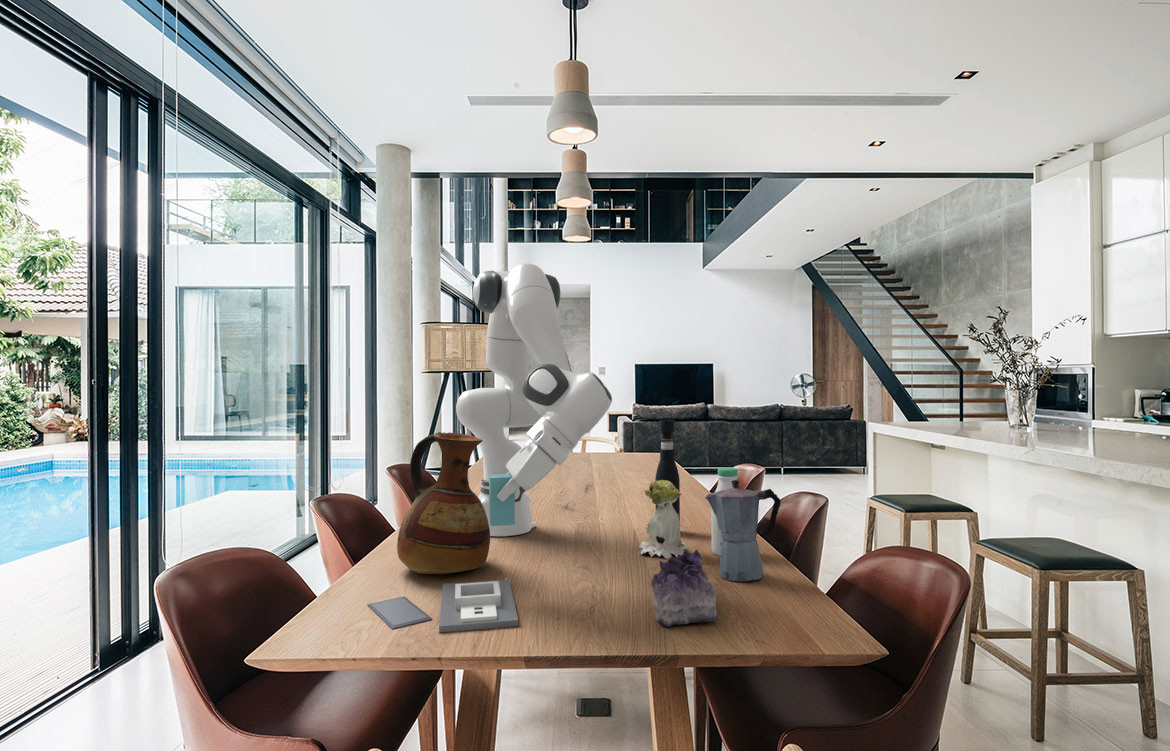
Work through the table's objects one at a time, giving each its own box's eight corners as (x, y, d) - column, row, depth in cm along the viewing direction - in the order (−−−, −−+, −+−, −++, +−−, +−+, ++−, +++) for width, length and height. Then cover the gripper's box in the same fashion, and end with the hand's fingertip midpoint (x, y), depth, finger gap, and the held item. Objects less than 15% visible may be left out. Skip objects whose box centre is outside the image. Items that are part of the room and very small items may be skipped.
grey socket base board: (443, 588, 126) (442, 573, 126) (508, 584, 129) (508, 569, 129) (439, 632, 105) (439, 614, 105) (518, 625, 107) (518, 608, 107)
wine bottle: (656, 529, 174) (655, 419, 174) (679, 530, 173) (678, 419, 173) (655, 535, 167) (654, 421, 167) (680, 536, 166) (679, 421, 167)
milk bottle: (745, 558, 146) (745, 471, 146) (711, 556, 147) (710, 470, 147) (744, 549, 153) (743, 466, 153) (711, 548, 155) (710, 465, 155)
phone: (392, 633, 106) (392, 627, 106) (367, 608, 118) (367, 603, 118) (432, 623, 110) (432, 618, 110) (404, 600, 122) (404, 595, 122)
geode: (648, 589, 126) (654, 539, 126) (707, 599, 124) (714, 548, 124) (646, 625, 105) (654, 565, 106) (716, 638, 104) (724, 576, 104)
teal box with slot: (489, 521, 124) (488, 474, 124) (513, 519, 125) (512, 473, 125) (490, 526, 120) (490, 478, 120) (515, 524, 121) (514, 476, 121)
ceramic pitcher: (472, 586, 128) (471, 437, 128) (379, 581, 132) (378, 436, 132) (502, 558, 147) (501, 428, 147) (420, 554, 151) (419, 428, 151)
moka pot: (702, 569, 138) (701, 476, 138) (774, 569, 138) (773, 476, 138) (709, 583, 129) (708, 484, 129) (786, 583, 128) (785, 483, 128)
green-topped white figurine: (684, 545, 158) (683, 476, 158) (689, 558, 146) (689, 484, 146) (638, 544, 158) (638, 476, 158) (640, 558, 146) (640, 484, 146)
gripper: (530, 428, 134) (483, 477, 132) (543, 435, 114) (488, 493, 112) (551, 448, 135) (505, 497, 133) (568, 459, 115) (514, 517, 113)
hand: (498, 495), depth 122 cm, fingers closed on teal box with slot, 4 cm apart
